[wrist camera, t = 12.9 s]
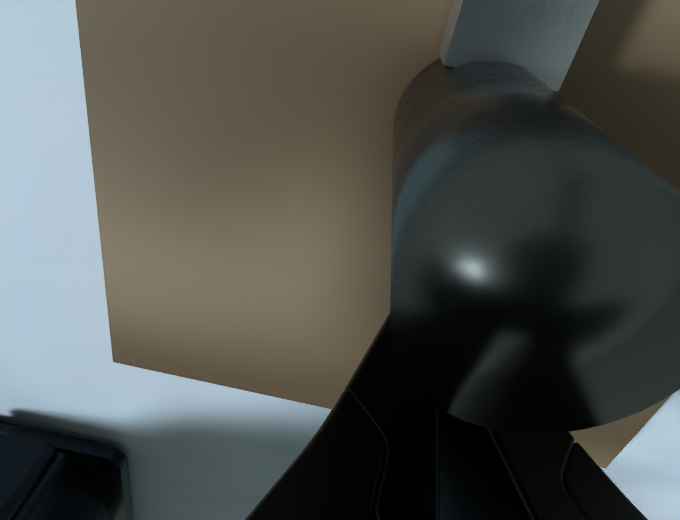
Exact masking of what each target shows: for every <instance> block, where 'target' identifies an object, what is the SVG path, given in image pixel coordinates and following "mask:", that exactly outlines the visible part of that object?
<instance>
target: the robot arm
mask: <svg viewBox="0 0 680 520" xmlns="http://www.w3.org/2000/svg"><path fill="white" fill-rule="evenodd" d="M574 442H575V438H574V437H573V436H572V435H571V433H570V432H561V433H548V434H527V433H515V432H506V431H501V430H495V429H490V428H486V427H482V426H479V425H475V424H472V423H470V422H467V421H464V420H461V419H459V418H457V417H455V416H453V415H451V414H449V413H447V412H445V411H443V410H442V409H440V408H439V407H437V406H436V405H434V404H432V403H431V402H430V401H429V400H427V399H426V398H425V397H424V396H423V395H422V394H420V393H419V392H418V391H417V389H416V388H415V387H414V386H413V385H412V384H411V383H410V382H409V380H408V379H407V377H406V376H405V374H404V373H403V371H402V370H401V367H400V365H399V363H398V361H397V359H396V357H395V353H394V349H393V346H392V342H391V331H390V312H389V314H388V316H387V317H386V319H385V321H384V322H383V324H382V326H381V328H380V329H379V331H378V333H377V334H376V336H375V338H374V340H373V341H372V343H371V345H370V346H369V348H368V350H367V351H366V353H365V355H364V357H363V358H362V360H361V362H360V363H359V365H358V367H357V369H356V370H355V372H354V374H353V375H352V377H351V379H350V380H349V382H348V384H347V386H346V387H345V389H344V391H343V392H342V393H341V395H340V397H339V399H338V400H337V402H336V404H335V406H334V407H333V409H332V410H331V412H330V413H329V415H328V416H327V418H326V420H325V421H324V423H323V424H322V426H321V427H320V429H319V430H318V432H317V433H316V434H315V435H314V437H313V438H312V439H311V441H310V442H309V443H308V445H307V446H306V447H305V448H304V450H303V451H302V452H301V454H300V455H299V456H298V457H297V459H296V460H295V461H294V462H293V463H292V465H291V466H290V467H289V468H288V469H287V471H286V472H285V473H284V474H283V475H282V476H281V478H280V479H279V480H278V481H277V482H276V484H275V485H274V486H273V487H272V488H271V490H270V491H269V492H268V493H267V494H266V495H265V497H264V498H263V499H262V500H261V501H260V503H259V504H258V505H257V506H256V507H255V508H254V510H253V511H252V512H251V513H250V514H249V516H248V517H247V518H246V519H245V520H648V519H647V518H646V517H645V516H644V515H643V514H642V513H641V512H640V511H639V510H638V509H637V508H636V507H635V506H634V505H633V504H632V503H631V502H630V500H629V499H628V498H627V497H626V496H625V495H624V494H623V493H622V492H621V491H620V489H619V488H618V487H617V486H616V485H615V484H614V483H613V482H612V480H611V479H610V478H609V477H608V476H607V475H606V474H605V473H604V471H603V470H602V469H601V468H600V467H599V466H598V465H597V464H596V462H595V461H594V460H593V459H592V458H591V457H590V455H589V454H588V453H587V452H586V451H585V450H584V448H583V447H582V446H581V445H580V444H579V443H577V442H576V443H574ZM0 520H133V519H132V508H131V498H130V488H129V477H128V467H127V458H126V456H125V454H124V453H123V452H122V451H120V450H119V449H117V448H114V447H111V446H107V445H102V444H98V443H93V442H88V441H84V440H79V439H74V438H69V437H65V436H60V435H55V434H50V433H46V432H41V431H36V430H31V429H27V428H22V427H17V426H13V425H8V424H3V423H0Z"/></svg>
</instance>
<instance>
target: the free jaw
mask: <svg viewBox="0 0 680 520" xmlns="http://www.w3.org/2000/svg"><path fill="white" fill-rule="evenodd" d="M598 2H599V0H453V3H452V6H451V10H450V13H449V16H448V20H447V23H446V27H445V30H444V33H443V37H442V40H441V44H440V47H439V50H438V54H439V56H440V58H439V59H437V60H435V61H434V62H432V63H430V64H429V65H428V66H426V67H425V68H424V69H422V70H421V71H420V72H419V73H418V74H417V75H416V76H415V77H414V78H413V79H412V81H411V82H410V83H409V84H408V86H407V87H406V89H405V90H404V92H403V94H402V96H401V98H400V100H399V102H398V105H397V108H396V111H395V115H394V120H393V144H392V221H391V297H390V331H391V342H392V346H393V349H394V353H395V357H396V359H397V361H398V363H399V365H400V367H401V370H402V371H403V373H404V374H405V376H406V377H407V379H408V380H409V382H410V383H411V384H412V385H413V386H414V387H415V388H416V389H417V391H418V392H419V393H420V394H422V395H423V396H424V397H425V398H426V399H427V400H429V401H430V402H431V403H432V404H434V405H436V406H437V407H439V408H440V409H442V410H443V411H445V412H447V413H449V414H451V415H453V416H455V417H457V418H459V419H461V420H464V421H467V422H470V423H472V424H475V425H479V426H482V427H486V428H490V429H495V430H501V431H506V432H515V433H527V434H548V433H561V432H570V431H576V430H583V429H588V428H592V427H596V426H601V425H605V424H608V423H611V422H614V421H617V420H620V419H623V418H626V417H628V416H631V415H633V414H636V413H638V412H640V411H643V410H645V409H647V408H648V407H650V406H652V405H654V404H656V403H658V402H660V401H662V400H663V399H665V398H666V397H668V396H670V395H671V394H673V393H674V392H676V391H677V390H679V389H680V192H679V191H678V190H676V189H675V188H674V187H673V186H671V185H670V184H669V183H668V182H666V181H665V180H664V179H663V178H661V177H660V176H659V175H658V174H656V173H655V172H654V171H653V170H651V169H650V168H649V167H648V166H646V165H645V164H644V163H643V162H641V161H640V160H639V159H638V158H636V157H635V156H634V155H633V154H631V153H630V152H629V151H628V150H626V149H625V148H624V147H623V146H622V145H620V144H619V143H618V142H617V141H615V140H614V139H613V138H612V137H610V136H609V135H608V134H607V133H605V132H604V131H603V130H602V129H600V128H599V127H598V126H597V125H595V124H594V123H593V122H592V121H590V120H589V119H588V118H587V117H585V116H584V115H583V114H582V113H580V112H579V111H578V110H577V109H575V108H574V107H573V106H572V105H570V104H569V103H568V102H567V101H565V100H564V99H563V98H562V97H560V96H559V95H558V94H557V93H555V92H554V91H556V92H558V91H559V89H560V87H561V85H562V82H563V80H564V78H565V76H566V74H567V71H568V69H569V67H570V65H571V62H572V60H573V58H574V56H575V54H576V51H577V49H578V47H579V45H580V42H581V40H582V38H583V36H584V33H585V31H586V29H587V27H588V25H589V22H590V20H591V18H592V16H593V13H594V11H595V9H596V7H597V4H598Z"/></svg>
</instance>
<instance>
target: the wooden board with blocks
mask: <svg viewBox="0 0 680 520" xmlns="http://www.w3.org/2000/svg"><path fill="white" fill-rule="evenodd" d="M452 3H453V0H76V9H77V19H78V28H79V38H80V48H81V57H82V67H83V76H84V86H85V96H86V105H87V115H88V124H89V134H90V144H91V153H92V163H93V172H94V182H95V192H96V201H97V211H98V220H99V230H100V240H101V249H102V259H103V269H104V278H105V288H106V297H107V307H108V317H109V326H110V336H111V345H112V355H113V362H116V363H121V364H125V365H130V366H135V367H139V368H144V369H149V370H153V371H158V372H162V373H167V374H172V375H176V376H181V377H186V378H190V379H195V380H199V381H204V382H209V383H213V384H218V385H223V386H227V387H232V388H237V389H241V390H246V391H250V392H255V393H260V394H264V395H269V396H274V397H278V398H283V399H287V400H292V401H297V402H301V403H306V404H311V405H315V406H320V407H325V408H329V409H333V407H334V406H335V404H336V402H337V400H338V399H339V397H340V395H341V393H342V392H343V391H344V389H345V387H346V386H347V384H348V382H349V380H350V379H351V377H352V375H353V374H354V372H355V370H356V369H357V367H358V365H359V363H360V362H361V360H362V358H363V357H364V355H365V353H366V351H367V350H368V348H369V346H370V345H371V343H372V341H373V340H374V338H375V336H376V334H377V333H378V331H379V329H380V328H381V326H382V324H383V322H384V321H385V319H386V317H387V316H388V314H389V312H390V297H391V221H392V144H393V120H394V115H395V111H396V108H397V105H398V102H399V100H400V98H401V96H402V94H403V92H404V90H405V89H406V87H407V86H408V84H409V83H410V82H411V81H412V79H413V78H414V77H415V76H416V75H417V74H418V73H419V72H420V71H421V70H422V69H424V68H425V67H426V66H428V65H429V64H430V63H432V62H434V61H435V60H437V59H439V58H440V56H439V54H438V50H439V47H440V44H441V40H442V37H443V33H444V30H445V27H446V23H447V20H448V16H449V13H450V10H451V6H452ZM554 92H555V93H557V94H558V95H559V96H560V97H562V98H563V99H564V100H565V101H567V102H568V103H569V104H570V105H572V106H573V107H574V108H575V109H577V110H578V111H579V112H580V113H582V114H583V115H584V116H585V117H587V118H588V119H589V120H590V121H592V122H593V123H594V124H595V125H597V126H598V127H599V128H600V129H602V130H603V131H604V132H605V133H607V134H608V135H609V136H610V137H612V138H613V139H614V140H615V141H617V142H618V143H619V144H620V145H622V146H623V147H624V148H625V149H626V150H628V151H629V152H630V153H631V154H633V155H634V156H635V157H636V158H638V159H639V160H640V161H641V162H643V163H644V164H645V165H646V166H648V167H649V168H650V169H651V170H653V171H654V172H655V173H656V174H658V175H659V176H660V177H661V178H663V179H664V180H665V181H666V182H668V183H669V184H670V185H671V186H673V187H674V188H675V189H676V190H678V191H679V192H680V0H599V2H598V4H597V7H596V9H595V11H594V13H593V16H592V18H591V20H590V22H589V25H588V27H587V29H586V31H585V33H584V36H583V38H582V40H581V42H580V45H579V47H578V49H577V51H576V54H575V56H574V58H573V60H572V62H571V65H570V67H569V69H568V71H567V74H566V76H565V78H564V80H563V82H562V85H561V87H560V89H559V91H558V92H556V91H554ZM671 395H672V394H671ZM671 395H670V396H671ZM670 396H668V397H666V398H665V399H663V400H662V401H660V402H658V403H656V404H654V405H652V406H650V407H648V408H647V409H645V410H643V411H640V412H638V413H636V414H633V415H631V416H628V417H626V418H623V419H620V420H617V421H614V422H611V423H608V424H605V425H601V426H596V427H592V428H588V429H583V430H576V431H570V433H571V435H572V436H573V437H574V438H575V442H574V443H576V442H577V443H579V444H580V445H581V446H582V447H583V448H584V450H585V451H586V452H587V453H588V454H589V455H590V457H591V458H592V459H593V460H594V461H595V462H596V464H597V465H598V466H599V467H602V468H606V467H607V466H608V465H609V464H610V463H611V462H612V461H613V459H614V458H615V457H616V456H617V455H618V454H619V453H620V452H621V451H622V449H623V448H624V447H625V446H626V445H627V444H628V443H629V442H630V441H631V439H632V438H633V437H634V436H635V435H636V434H637V433H638V432H639V431H640V429H641V428H642V427H643V426H644V425H645V424H646V423H647V422H648V421H649V419H650V418H651V417H652V416H653V415H654V414H655V413H656V412H657V411H658V409H659V408H660V407H661V406H662V405H663V404H664V403H665V402H666V400H667V399H668V398H669V397H670Z"/></svg>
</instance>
